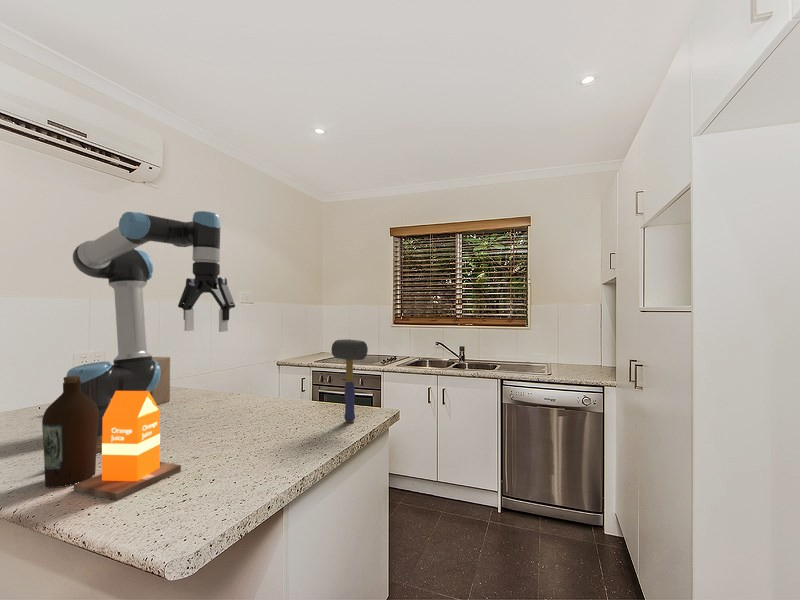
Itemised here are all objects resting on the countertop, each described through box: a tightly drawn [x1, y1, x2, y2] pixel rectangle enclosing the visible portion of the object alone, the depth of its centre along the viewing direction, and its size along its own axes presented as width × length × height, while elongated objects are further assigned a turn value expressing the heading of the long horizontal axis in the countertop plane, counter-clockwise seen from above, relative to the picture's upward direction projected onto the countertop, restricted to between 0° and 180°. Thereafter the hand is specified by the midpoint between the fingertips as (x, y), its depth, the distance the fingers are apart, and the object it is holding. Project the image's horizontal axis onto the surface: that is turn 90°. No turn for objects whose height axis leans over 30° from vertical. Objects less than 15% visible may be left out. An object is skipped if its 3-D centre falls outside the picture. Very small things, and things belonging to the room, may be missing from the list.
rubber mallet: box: [331, 338, 369, 423], centre depth 141 cm, size 12×8×30 cm, turn 59°
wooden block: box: [149, 356, 171, 406], centre depth 170 cm, size 10×10×20 cm
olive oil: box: [41, 376, 99, 488], centre depth 95 cm, size 11×11×25 cm
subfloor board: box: [73, 461, 182, 502], centre depth 93 cm, size 14×16×2 cm
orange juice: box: [101, 391, 161, 481], centre depth 93 cm, size 8×9×20 cm
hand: (205, 331), depth 119 cm, fingers open, 13 cm apart
